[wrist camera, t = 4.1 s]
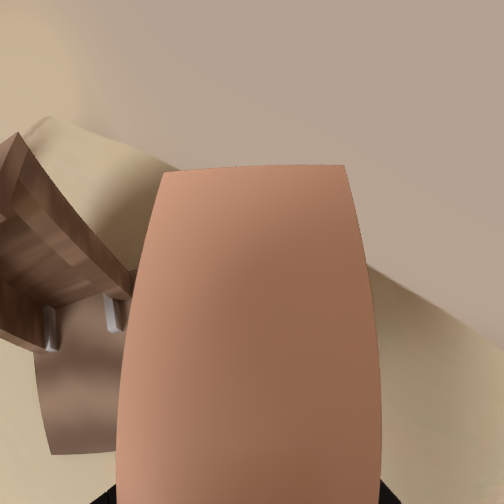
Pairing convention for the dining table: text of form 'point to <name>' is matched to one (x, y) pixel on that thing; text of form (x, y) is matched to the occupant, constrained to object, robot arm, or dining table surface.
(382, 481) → the robot arm
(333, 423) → the terracotta slab
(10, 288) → the walnut shelf
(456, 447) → the dining table surface
